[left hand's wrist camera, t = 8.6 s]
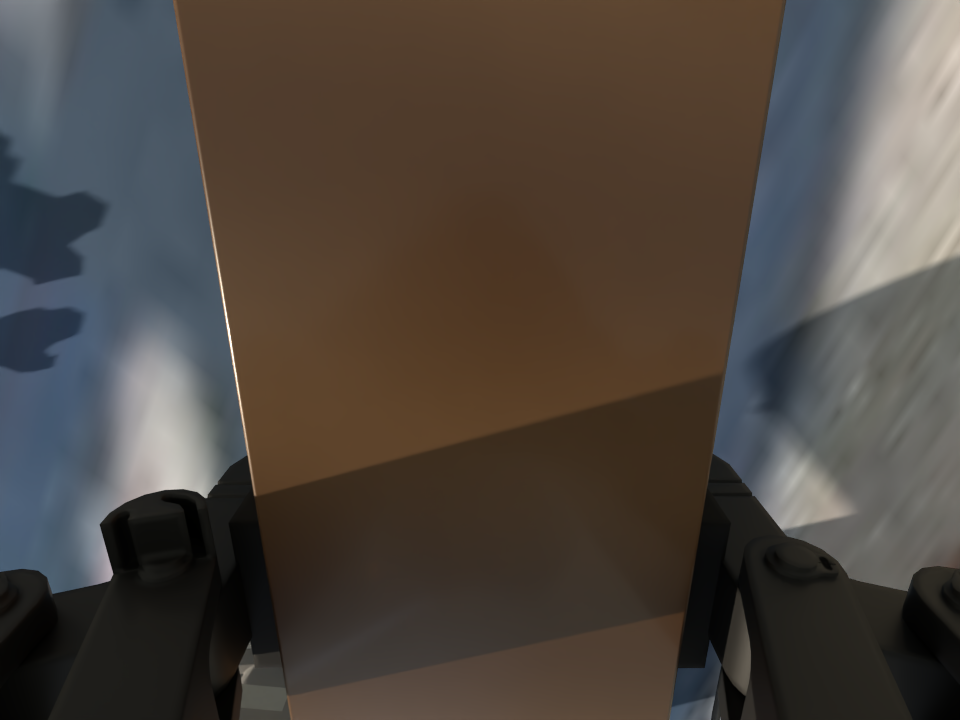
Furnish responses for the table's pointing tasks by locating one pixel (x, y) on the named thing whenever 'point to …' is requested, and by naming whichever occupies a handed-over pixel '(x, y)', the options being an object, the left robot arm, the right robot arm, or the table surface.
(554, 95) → the beam
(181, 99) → the table surface
